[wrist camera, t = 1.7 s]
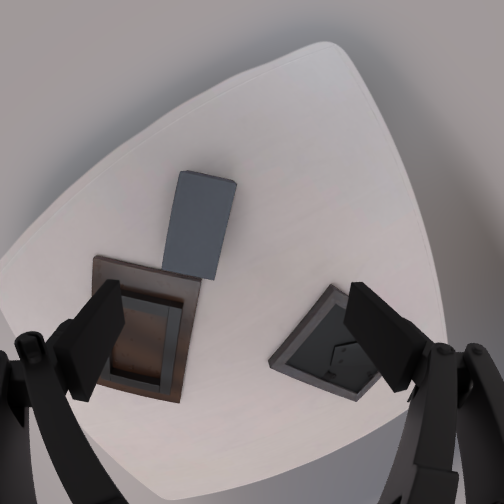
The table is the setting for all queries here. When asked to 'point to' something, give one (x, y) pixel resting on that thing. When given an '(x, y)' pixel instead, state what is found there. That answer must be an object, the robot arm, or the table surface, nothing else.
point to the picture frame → (327, 351)
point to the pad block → (198, 224)
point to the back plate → (149, 329)
